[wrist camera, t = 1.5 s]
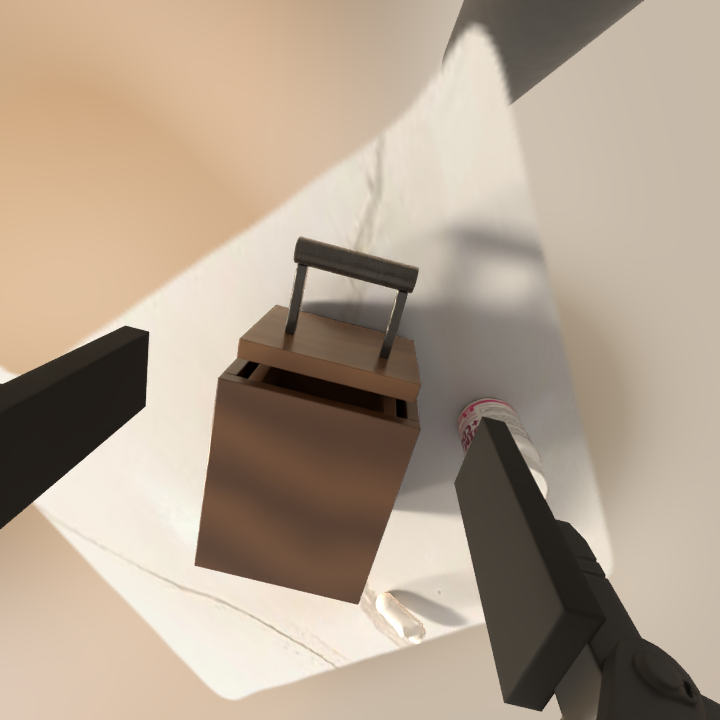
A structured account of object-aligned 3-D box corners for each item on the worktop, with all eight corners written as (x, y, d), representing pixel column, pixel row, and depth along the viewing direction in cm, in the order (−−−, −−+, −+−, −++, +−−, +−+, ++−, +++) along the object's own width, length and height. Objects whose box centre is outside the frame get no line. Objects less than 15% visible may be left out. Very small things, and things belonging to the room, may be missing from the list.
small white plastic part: (404, 577, 40) (405, 607, 37) (426, 618, 42) (429, 649, 39) (370, 586, 41) (369, 616, 38) (394, 626, 42) (394, 657, 39)
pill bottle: (458, 396, 32) (480, 459, 24) (519, 396, 32) (561, 460, 24) (454, 447, 34) (474, 521, 26) (513, 448, 34) (550, 523, 26)
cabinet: (266, 326, 31) (217, 377, 22) (412, 364, 32) (421, 429, 23) (241, 476, 37) (193, 566, 28) (365, 507, 37) (358, 605, 28)
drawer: (289, 223, 27) (254, 232, 20) (438, 263, 28) (455, 285, 20) (249, 454, 35) (212, 522, 27) (368, 484, 35) (362, 558, 28)
